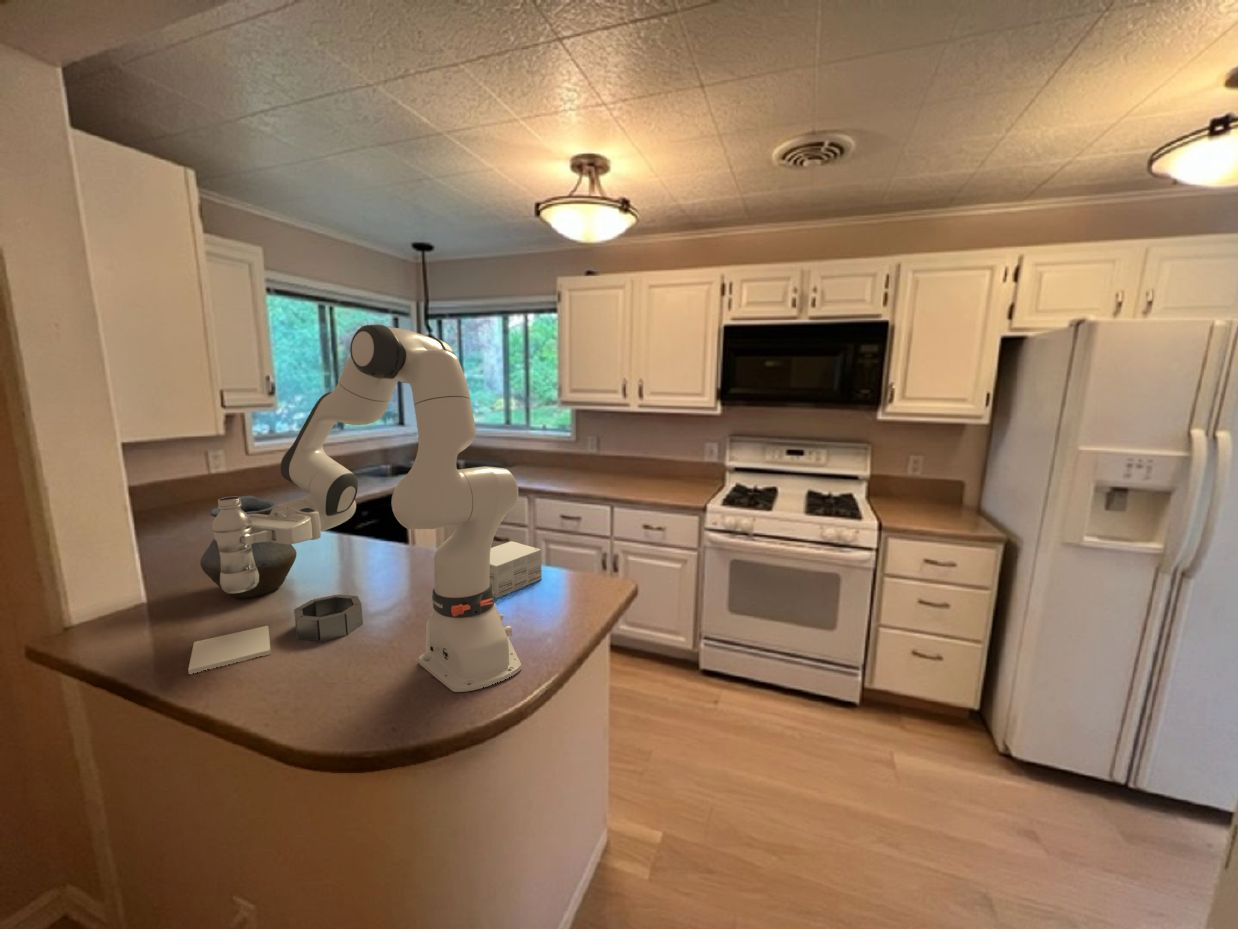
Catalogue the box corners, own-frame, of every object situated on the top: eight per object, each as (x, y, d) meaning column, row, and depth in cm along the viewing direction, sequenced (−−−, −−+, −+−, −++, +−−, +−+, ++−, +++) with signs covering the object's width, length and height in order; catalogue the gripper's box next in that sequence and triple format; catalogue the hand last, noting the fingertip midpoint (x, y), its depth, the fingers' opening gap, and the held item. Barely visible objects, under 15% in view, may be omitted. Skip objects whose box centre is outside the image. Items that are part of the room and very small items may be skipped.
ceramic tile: (270, 654, 104) (270, 649, 104) (188, 674, 96) (188, 670, 96) (268, 629, 114) (268, 625, 114) (194, 646, 107) (194, 642, 107)
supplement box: (511, 569, 154) (511, 540, 152) (542, 579, 146) (542, 549, 145) (465, 586, 140) (464, 554, 139) (496, 599, 133) (495, 565, 131)
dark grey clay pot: (202, 615, 121) (189, 515, 117) (207, 586, 138) (197, 498, 134) (302, 595, 133) (293, 504, 129) (296, 570, 150) (288, 489, 146)
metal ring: (366, 630, 115) (364, 609, 114) (299, 647, 107) (296, 625, 106) (356, 609, 125) (354, 590, 124) (294, 623, 117) (292, 603, 117)
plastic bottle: (268, 586, 108) (257, 495, 104) (237, 599, 101) (225, 503, 98) (244, 582, 109) (233, 493, 106) (213, 595, 103) (200, 501, 99)
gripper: (255, 504, 118) (191, 519, 105) (324, 511, 112) (265, 528, 99) (257, 530, 119) (194, 548, 106) (326, 539, 113) (268, 559, 100)
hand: (229, 539), depth 102 cm, fingers closed on plastic bottle, 6 cm apart
